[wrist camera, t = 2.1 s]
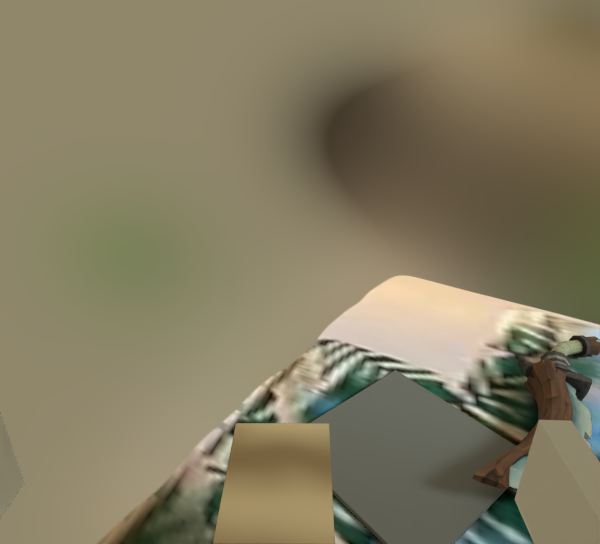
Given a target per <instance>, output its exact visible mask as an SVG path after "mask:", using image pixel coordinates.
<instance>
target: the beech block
mask: <svg viewBox="0 0 600 544" xmlns="http://www.w3.org/2000/svg"><path fill="white" fill-rule="evenodd" d="M213 544H335V537H334V516H333V496H332V475H331V455H330V434H329V424H306V423H236V426H235V432H234V437H233V442H232V447H231V452H230V458H229V463H228V468H227V473H226V478H225V483H224V489H223V494H222V499H221V504H220V509H219V514H218V520H217V525H216V530H215V535H214V540H213Z"/></svg>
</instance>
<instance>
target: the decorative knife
mask: <svg viewBox="0 0 600 544" xmlns="http://www.w3.org/2000/svg"><path fill="white" fill-rule="evenodd" d="M599 353H600V339H598V338H596V337H585V336H573V337H572V338H571V339H570V340H569V341H565V342H562V343H559V344H558V345H557V346H555V347H554V348H553V349H552V350H551V351H549V352H546V353H545V354H544V355H543V356H541V362H538V363H535V364H533V363H529V362H519V366H520V368H521V370H522V371H523V372H524V374H525V375H526V376H527V377H528V380H527V382H525V385H526V387H527V388H528V390H529V391H530V392H531V394H532V395H533V396H534V398H535V400H536V402H537V406H538V421H539V420H565V421H572V422H573V424H574V425H575V427H576V428H577V430H578V431H579V433H580V434H581V436H582V437H583V438H584V440H585V441H586V439H591V435H592V422H591V414H590V410H589V409H588V408H587V407H586V406H585V405H584V404H583V403H581V402H580V401H582V400H583V398H584V397H585V396H586V394H587V393H588V391H589V389H590V386H591V384H592V379H590V378H588V377H586V376H584V375H582V374H578V373H575V372H572V371H571V370H570V369H569V366H570V362H569V360H568V358H567V357H566V356H567V355H570V354H574V355H575V356H576V357H581V358H582V357H586V356H587V355H598V354H599ZM538 421H537V423H536V425H535V426H534V428H533V429H532V430H531V431H530V433H529V434H528V435H527V436H526V437H525V438H524V439H523V440H522V442H521V443H520V444H518V445H517V446H516V447H514V448H513V449H511V450H509V451H507V452H505V453H503V454H502V455H500V456H498V457H497V458H495V459H494V460H492V461H491V462H489V463H488V464H487V465H486V466H484V467H483V468H482V469H480V470H479V471H478V472H477V473H475V474H474V475H473V477H472V479H474V480H476V481H478V482H481V483H484V484H487V485H490V486H493V487H496V488H499V489H504V488H508V487H509V486H510V487H513V488H516V489H518V486H519V483H520V480H521V477H522V473H523V470H524V467H525V463H526V460H527V457H528V454H529V450H530V447H531V444H532V441H533V437H534V434H535V431H536V428H537V424H538ZM586 443H587V444H588V446H589V447H590V449H591V445H590V444H589V443H588V442H587V441H586Z"/></svg>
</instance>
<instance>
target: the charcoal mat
mask: <svg viewBox="0 0 600 544" xmlns="http://www.w3.org/2000/svg"><path fill="white" fill-rule="evenodd" d="M309 424H329V434H330V455H331V475H332V494H333V495H334V496H335V497H336V498H337V499H338V500H339V501H340V502H341V503H342V504H343V505H344V506H345V507H347V508H348V509H349V510H350V511H351V512H352V513H353V514H354V515H355V516H356V517H357V518H358V519H359V520H360V521H361V522H362V523H363V524H364V525H365V526H366V527H367V528H368V529H369V530H370V531H371V532H372V533H373V534H374V535H375V536H376V537H377V538H378V539H379V540H380V541H381V542H382V543H383V544H454V543H455V542H456V541H457V540H458V539H459V538H460V537H461V536H462V535H463V534H464V533H465V532H466V531H467V530H468V529H469V528H470V527H471V525H472V524H473V523H474V522H475V521H476V520H477V519H478V518H479V517H480V516H481V515H482V514H483V513H484V512H485V511H486V510H487V509H488V508H489V507H490V506H491V505H492V504H493V503H494V502H495V501H496V500H497V499H498V498H499V497H500V496H501V494H502V493H503V492H504V491H505V490H506V489H507V488H504V489H499V488H496V487H493V486H490V485H487V484H484V483H481V482H478V481H476V480H474V479H472V477H473V475H474V474H475V473H477V472H478V471H479V470H480V469H482V468H483V467H484V466H486V465H487V464H488V463H489V462H491V461H492V460H494V459H495V458H497V457H498V456H500V455H502V454H503V453H505V452H507V451H509V450H511V449H513V448H514V447H516V445H514V444H512V443H511V442H509V441H508V440H506V439H504V438H503V437H501V436H500V435H498V434H496V433H495V432H493V431H492V430H490V429H488V428H487V427H485V426H484V425H482V424H480V423H479V422H477V421H476V420H474V419H472V418H471V417H469V416H468V415H466V414H464V413H463V412H461V411H460V410H458V409H457V408H455V407H453V406H452V405H450V404H449V403H447V402H445V401H444V400H442V399H441V398H439V397H437V396H436V395H434V394H433V393H431V392H429V391H428V390H426V389H425V388H423V387H421V386H420V385H418V384H417V383H415V382H413V381H412V380H410V379H409V378H407V377H406V376H404V375H402V374H401V373H399V372H398V371H396V370H395V371H394V372H392V373H390V374H389V375H387V376H385V377H384V378H382V379H381V380H379V381H377V382H376V383H374V384H372V385H371V386H369V387H368V388H366V389H364V390H363V391H361V392H359V393H358V394H356V395H355V396H353V397H351V398H350V399H348V400H346V401H345V402H343V403H342V404H340V405H338V406H337V407H335V408H333V409H332V410H330V411H329V412H327V413H325V414H324V415H322V416H320V417H319V418H317V419H316V420H314V421H312V422H311V423H309Z"/></svg>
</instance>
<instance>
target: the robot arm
mask: <svg viewBox="0 0 600 544" xmlns="http://www.w3.org/2000/svg"><path fill="white" fill-rule="evenodd" d="M23 484H24V480H23V477H22V474H21V471H20V468H19V466H18V463H17V460H16V457H15V454H14V451H13V448H12V445H11V442H10V439H9V436H8V434H7V431H6V427H5V425H4V422H3V419H2V416H1V413H0V519H1V517H2V516H3V514H4V513H5V511H6V510H7V508H8V507H9V505H10V504H11V502H12V501H13V499H14V498H15V496H16V495H17V493H18V492H19V490H20V489H21V487H22V486H23ZM515 502H516V504H517V506H518V508H519V511H520V513H521V515H522V518H523V520H524V522H525V524H526V527H527V529H528V531H529V533H530V536H531V538H532V540H533V542H534V544H600V462H599V460H598V459H597V457H596V456H595V454H594V453H593V451H592V450H591V449H590V447H589V446H588V444H587V443H586V441H585V440H584V438H583V437H582V436H581V434H580V433H579V431H578V430H577V428H576V427H575V425H574V424H573V422H572V421H565V420H539V421H538V424H537V428H536V431H535V434H534V437H533V441H532V444H531V447H530V450H529V454H528V457H527V460H526V463H525V467H524V470H523V473H522V477H521V480H520V483H519V486H518V490H517V493H516V496H515Z"/></svg>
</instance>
